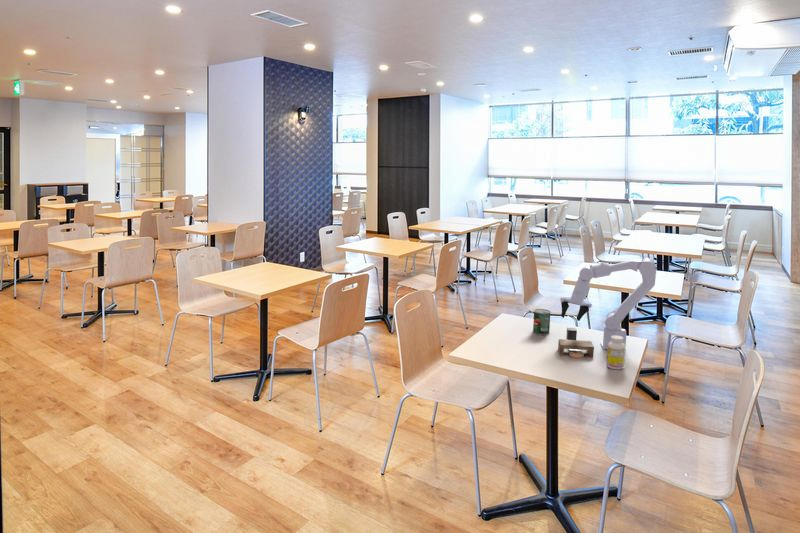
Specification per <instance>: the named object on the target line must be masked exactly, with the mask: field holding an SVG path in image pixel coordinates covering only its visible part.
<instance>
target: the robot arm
mask: <svg viewBox="0 0 800 533" xmlns="http://www.w3.org/2000/svg"><path fill="white" fill-rule="evenodd" d="M627 270H632V271H634V272H636V273H637V272H638V271H639V273H640V275H641V279H642V281H641V283H640V284H639V285H638V286H637V287H636V288H635V289H634V290H633V291H632V292H631V293H630V294H629V295H628V296H627V297H626V298H625V299H624V300H623V302H622V303H620V305H618V307H616V308H615V309H614V310H613V311H611V312H608V313H607V315H606V318H605V321H604V327H603V338H602V342H600V345H601V347H602V349H603V350H608V343H609V342H611V336H614V335H616V336H621V337H623V342H622V343H624V344H625V351H627V350H626V348H627V347H626V346H627V345H626V344H627V330H626V329H625V328H622V327H621V323H622V322H623V321H624V319H625V318H626V316H627V315H628V314H629V313H630V311H632V310H633V308H635V307H636V306H637V305H638V303H640V301H642V299H643V298H644V297H645V296H646V295H647V294H648V293H649V292H650V291H651V290H652V289H653V288H654V287H655V284H656V278H657V267H656V263H655V261H654V260H653V259H652V258H650V257H645V258H636V259H630V260H627V261H622V262H618V263H614V264H609V263H607V262H604V261H603V262H600V263H599V264H595V265H592V264H589V266H586V265H585V266H583V267H582V268H581V269H580V271H579V272H578V274H579V276H577V280H576V282H575V285H574V288H573V290H572V294H571V296H570V297H568V296H560V299H559V301H560V304H561V317H562V318H565V316H566V313H567V311H568V310H569V307H570V304H572V305H577V306H579V310H578V313H577V315H576V316H577V317H576V320H577V321H580V320H581V319H582V318H583V316H585V315H586V314H587V313H588V312H589V311H590V309H591V308H592V307H593V304H592V302H588V301H585V298H586V295H587V293H588V290H589V287H590V283H591V280H592V279H598V278H603V277H608V276H611V274H612V273H615V272H620V271H627Z"/></svg>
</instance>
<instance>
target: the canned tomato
mask: <svg viewBox="0 0 800 533" xmlns="http://www.w3.org/2000/svg"><path fill="white" fill-rule="evenodd" d="M532 325H533V326H532V332H533V334H535V335H538V334H539V335H540V336H547V335H549V334H550V328H551V310H549V309H544V308H537V309H534V310H533V324H532Z"/></svg>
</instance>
